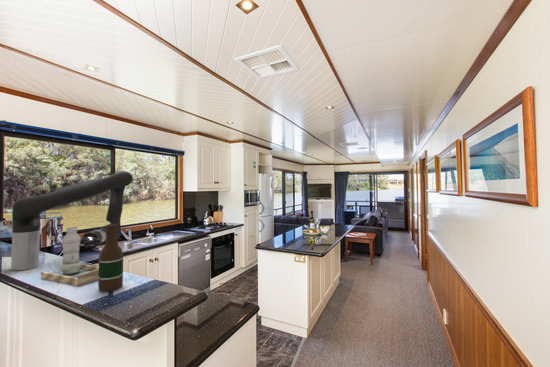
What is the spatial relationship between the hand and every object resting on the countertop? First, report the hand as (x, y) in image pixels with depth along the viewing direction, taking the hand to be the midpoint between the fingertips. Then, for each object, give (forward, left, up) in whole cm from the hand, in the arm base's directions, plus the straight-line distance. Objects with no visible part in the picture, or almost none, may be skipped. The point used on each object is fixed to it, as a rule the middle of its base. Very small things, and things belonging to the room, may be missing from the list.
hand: (74, 245), depth 110 cm
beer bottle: (+31, -6, -13) cm, 34 cm away
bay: (+6, -2, -12) cm, 14 cm away
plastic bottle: (+1, -2, -12) cm, 12 cm away
